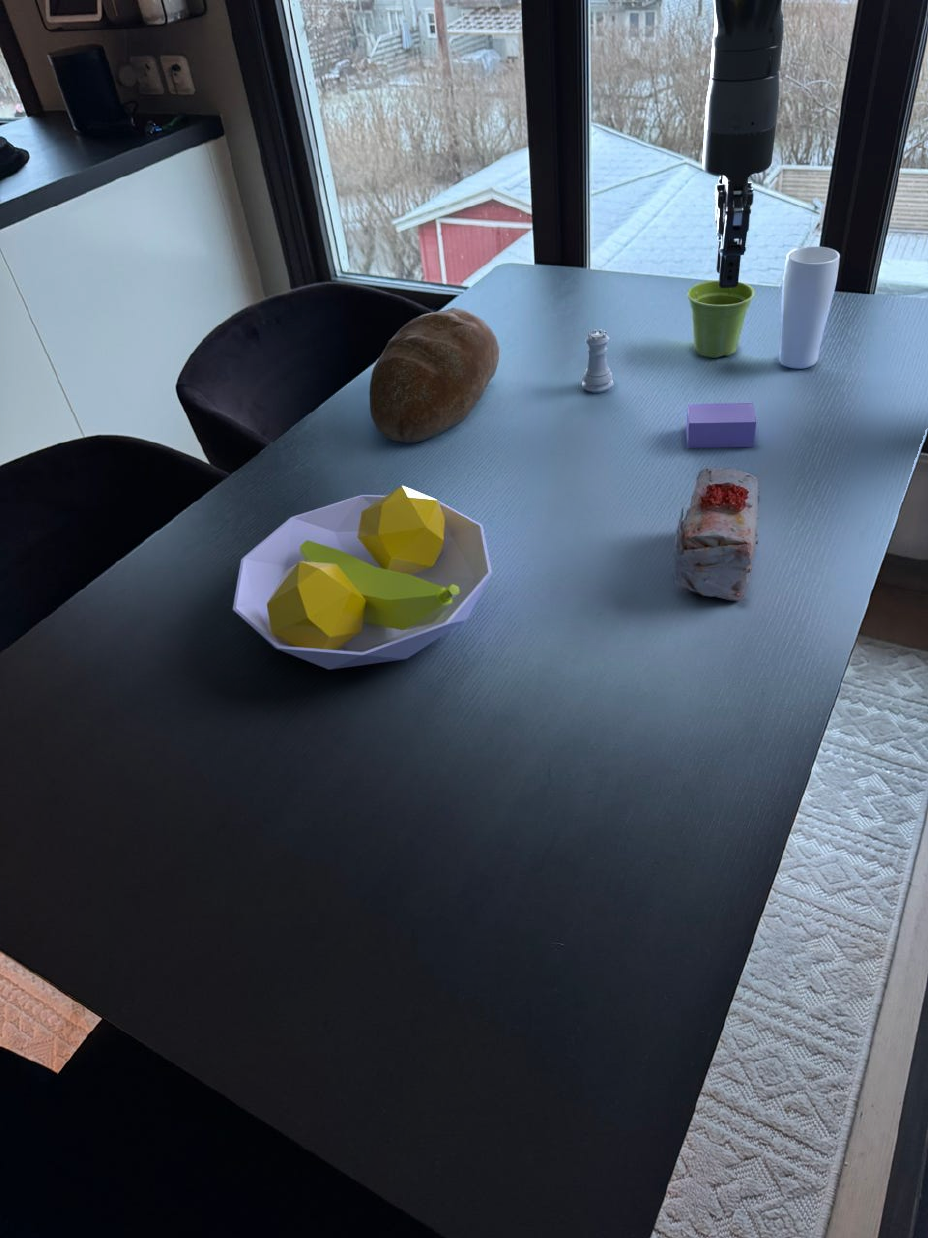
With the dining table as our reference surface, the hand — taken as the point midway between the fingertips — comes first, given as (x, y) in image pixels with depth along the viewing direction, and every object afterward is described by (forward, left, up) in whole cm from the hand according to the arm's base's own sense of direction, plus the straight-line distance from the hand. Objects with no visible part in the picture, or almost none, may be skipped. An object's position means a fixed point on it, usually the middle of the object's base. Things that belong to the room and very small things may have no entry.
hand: (726, 278), depth 107 cm
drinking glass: (-12, -13, -17) cm, 25 cm away
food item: (+2, +35, -17) cm, 39 cm away
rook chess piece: (+16, -7, -17) cm, 25 cm away
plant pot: (-1, -18, -17) cm, 25 cm away
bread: (+39, -5, -17) cm, 43 cm away
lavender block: (0, +8, -17) cm, 19 cm away
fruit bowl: (+37, +44, -17) cm, 60 cm away
